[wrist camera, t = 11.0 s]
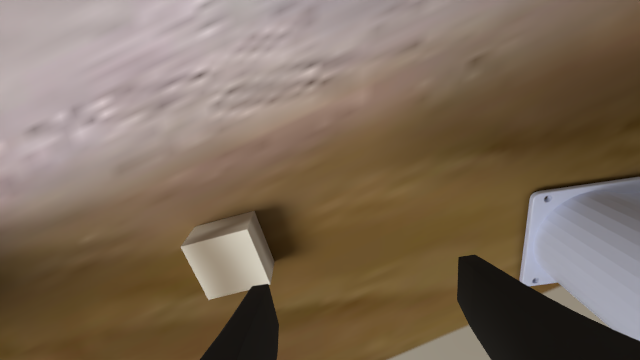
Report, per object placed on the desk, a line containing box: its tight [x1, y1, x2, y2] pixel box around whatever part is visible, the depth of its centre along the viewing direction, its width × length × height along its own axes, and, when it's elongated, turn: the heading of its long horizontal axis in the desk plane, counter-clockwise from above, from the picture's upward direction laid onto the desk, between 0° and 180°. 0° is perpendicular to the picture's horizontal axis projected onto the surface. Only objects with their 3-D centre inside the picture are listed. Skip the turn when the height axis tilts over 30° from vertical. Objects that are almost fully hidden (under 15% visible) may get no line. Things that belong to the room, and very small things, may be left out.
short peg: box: [181, 211, 274, 300], centre depth 20 cm, size 4×4×2 cm
